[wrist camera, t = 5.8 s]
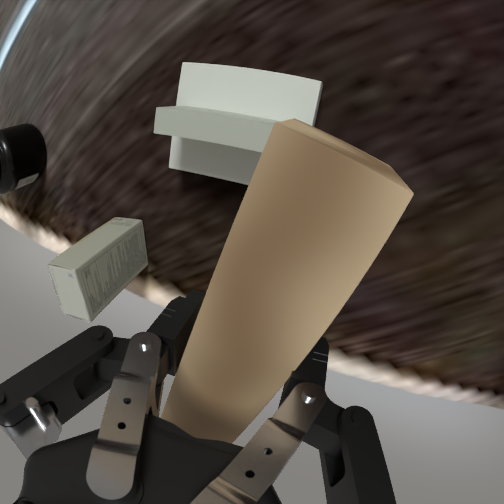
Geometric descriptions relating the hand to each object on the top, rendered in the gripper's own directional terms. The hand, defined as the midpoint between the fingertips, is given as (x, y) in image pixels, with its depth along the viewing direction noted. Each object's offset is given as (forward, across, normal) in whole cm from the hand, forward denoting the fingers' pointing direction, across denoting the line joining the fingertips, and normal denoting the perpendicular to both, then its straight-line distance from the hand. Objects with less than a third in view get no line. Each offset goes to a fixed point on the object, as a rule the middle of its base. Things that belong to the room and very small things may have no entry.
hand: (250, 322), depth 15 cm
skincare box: (+18, +18, +9) cm, 27 cm away
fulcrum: (+18, +6, -7) cm, 20 cm away
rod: (+1, 0, 0) cm, 1 cm away
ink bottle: (+18, +38, -1) cm, 42 cm away
